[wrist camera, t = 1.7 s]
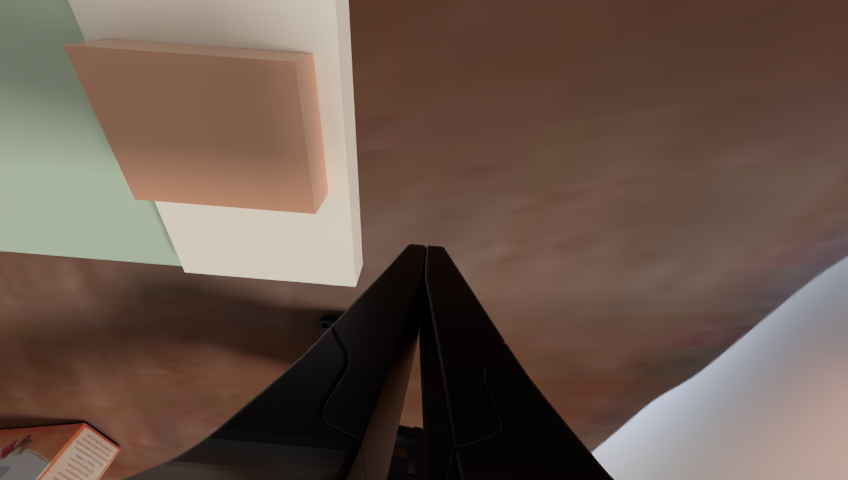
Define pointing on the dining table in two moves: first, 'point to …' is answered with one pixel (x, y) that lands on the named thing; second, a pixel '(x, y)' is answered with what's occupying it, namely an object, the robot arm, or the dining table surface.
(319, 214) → the deck
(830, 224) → the dining table surface
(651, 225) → the dining table surface
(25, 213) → the mat
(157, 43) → the tile
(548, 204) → the dining table surface
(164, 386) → the dining table surface
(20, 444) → the cracker box
